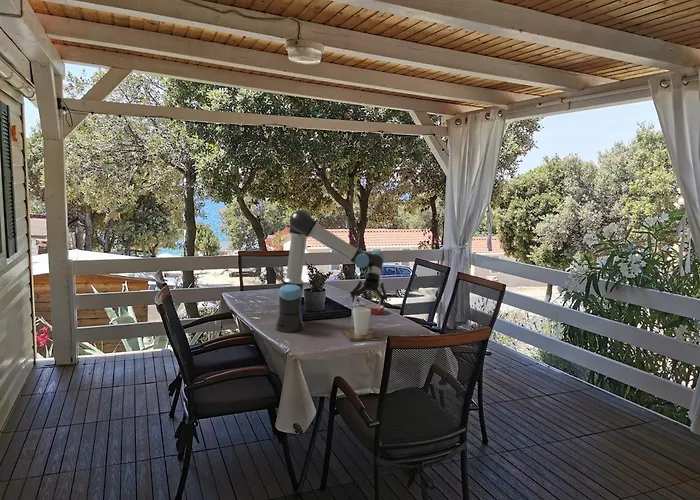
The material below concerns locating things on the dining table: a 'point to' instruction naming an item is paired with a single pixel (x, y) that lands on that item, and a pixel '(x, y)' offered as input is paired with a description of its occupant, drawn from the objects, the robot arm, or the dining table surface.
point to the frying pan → (373, 308)
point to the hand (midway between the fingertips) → (366, 308)
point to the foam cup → (361, 320)
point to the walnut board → (352, 336)
